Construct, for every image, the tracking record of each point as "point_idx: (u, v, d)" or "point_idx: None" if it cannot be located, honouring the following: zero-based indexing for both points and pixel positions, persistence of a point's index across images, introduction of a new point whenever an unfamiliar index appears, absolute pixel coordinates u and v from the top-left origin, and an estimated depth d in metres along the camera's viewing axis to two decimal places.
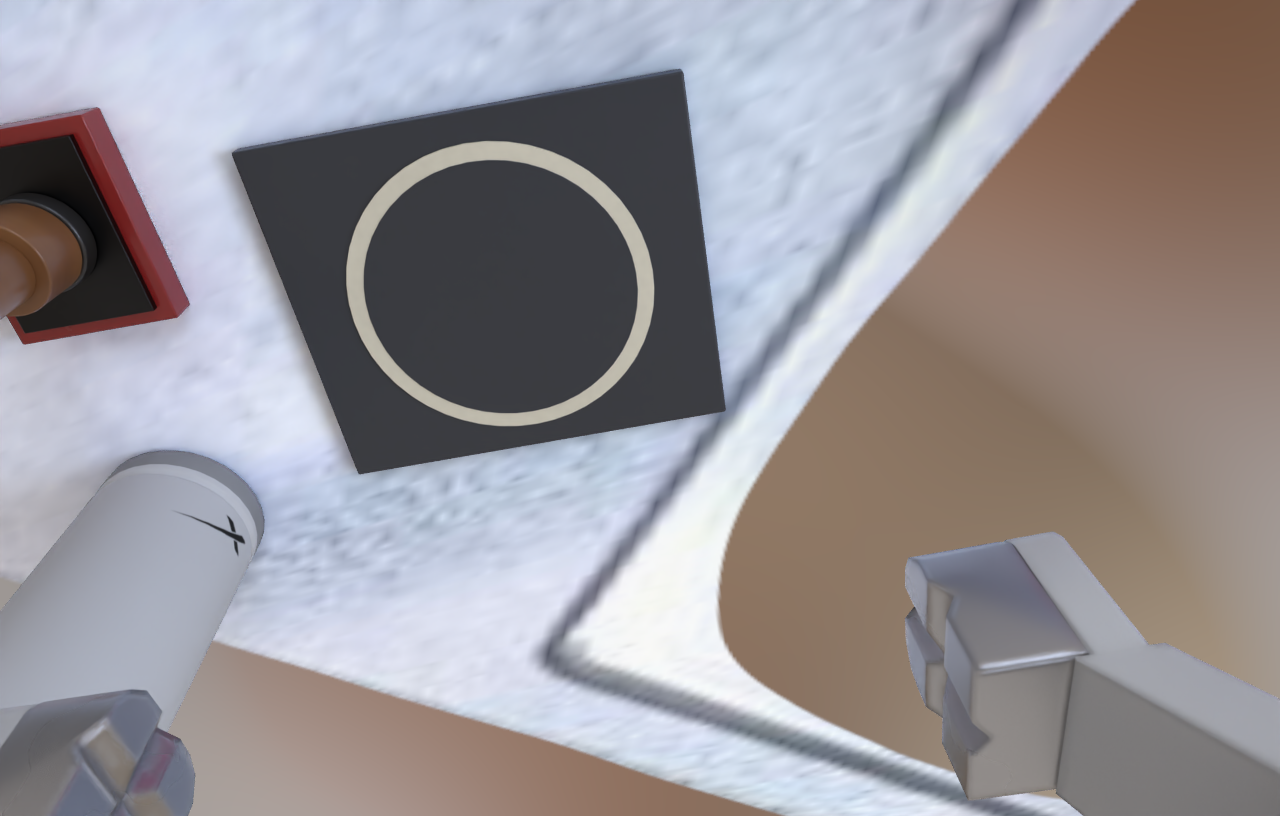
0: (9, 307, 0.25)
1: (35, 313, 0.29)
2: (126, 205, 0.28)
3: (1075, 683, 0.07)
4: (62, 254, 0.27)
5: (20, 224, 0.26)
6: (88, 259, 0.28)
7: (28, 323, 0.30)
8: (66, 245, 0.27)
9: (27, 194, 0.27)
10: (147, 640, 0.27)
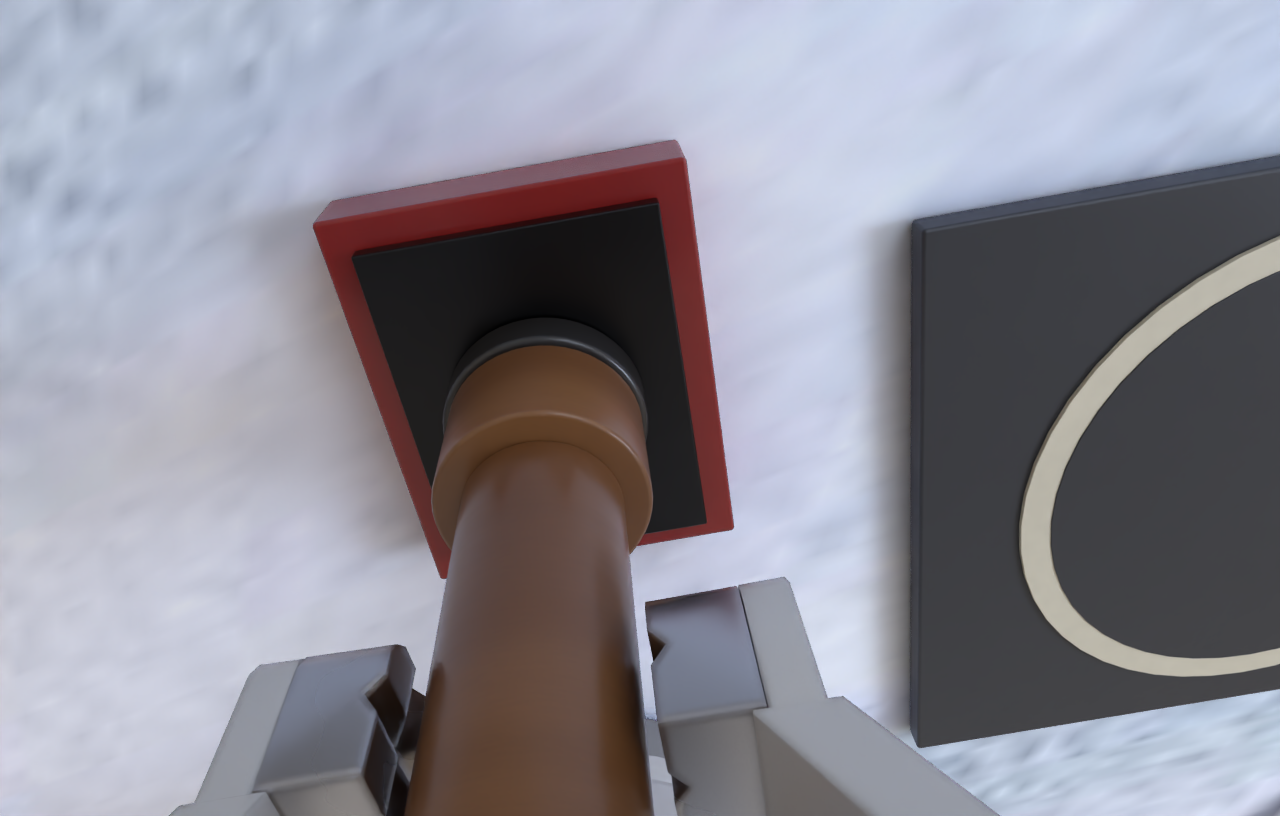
0: None
1: None
2: (708, 335, 0.14)
3: (757, 736, 0.07)
4: None
5: (600, 405, 0.12)
6: None
7: None
8: (643, 432, 0.13)
9: (549, 322, 0.13)
10: None
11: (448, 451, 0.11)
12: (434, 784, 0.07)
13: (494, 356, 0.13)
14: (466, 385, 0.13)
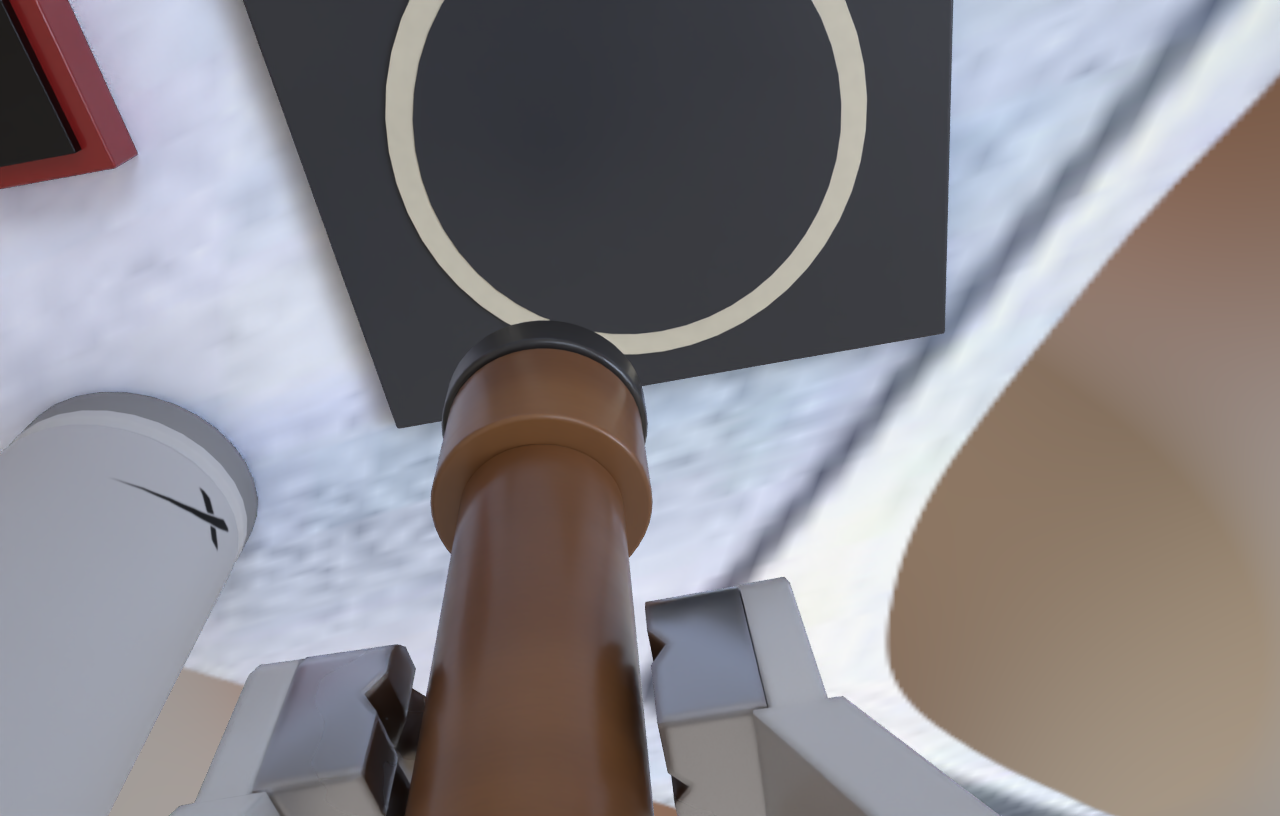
0: None
1: None
2: None
3: (757, 735, 0.07)
4: (646, 458, 0.13)
5: (600, 408, 0.12)
6: None
7: None
8: (642, 435, 0.13)
9: (549, 325, 0.13)
10: (54, 692, 0.16)
11: (447, 454, 0.11)
12: (434, 789, 0.07)
13: (493, 359, 0.13)
14: (465, 388, 0.13)
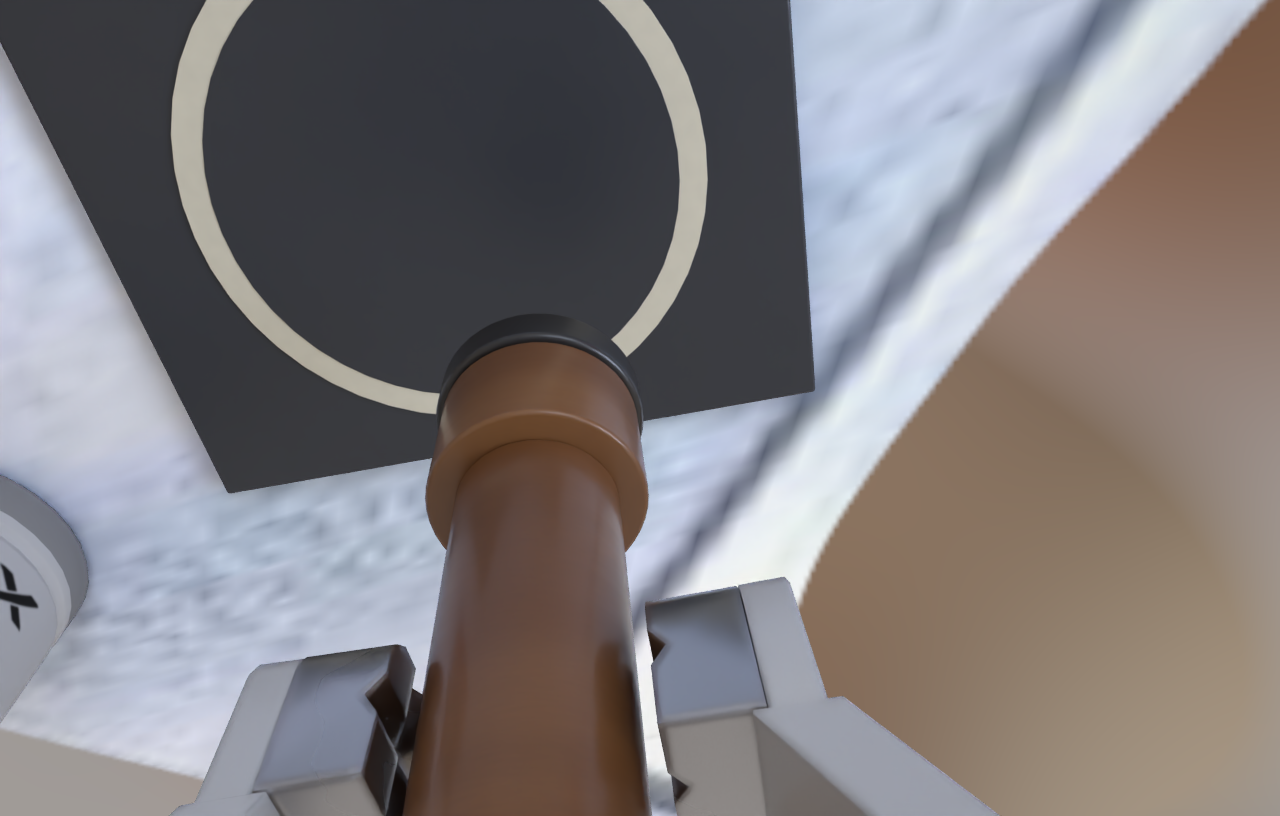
0: None
1: None
2: None
3: (757, 735, 0.07)
4: (642, 452, 0.12)
5: (596, 403, 0.12)
6: None
7: None
8: (638, 429, 0.13)
9: (544, 318, 0.13)
10: None
11: (442, 450, 0.11)
12: (431, 791, 0.07)
13: (488, 353, 0.13)
14: (460, 382, 0.12)
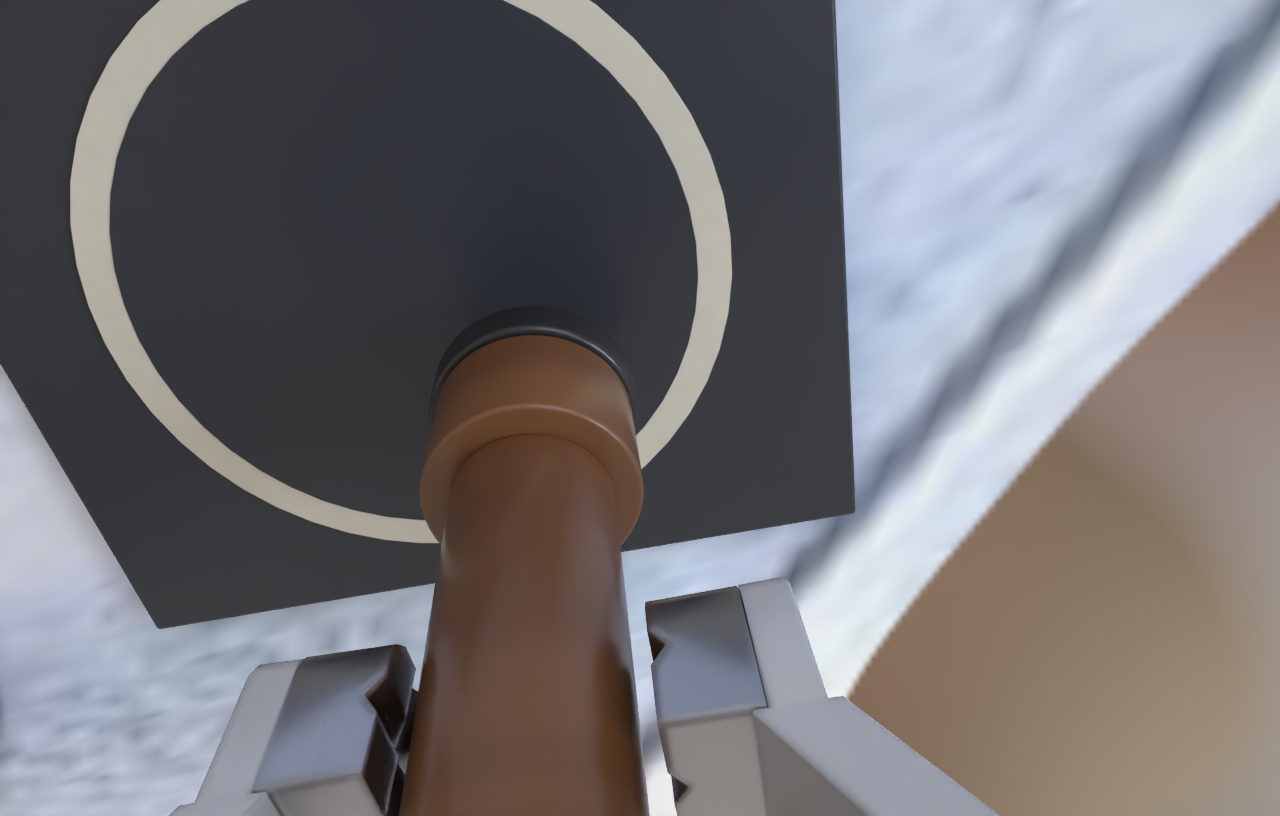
0: None
1: None
2: None
3: (757, 736, 0.07)
4: (637, 446, 0.12)
5: (590, 396, 0.11)
6: None
7: None
8: (633, 422, 0.13)
9: (537, 311, 0.13)
10: None
11: (436, 445, 0.11)
12: (428, 791, 0.07)
13: (481, 346, 0.12)
14: (453, 376, 0.12)
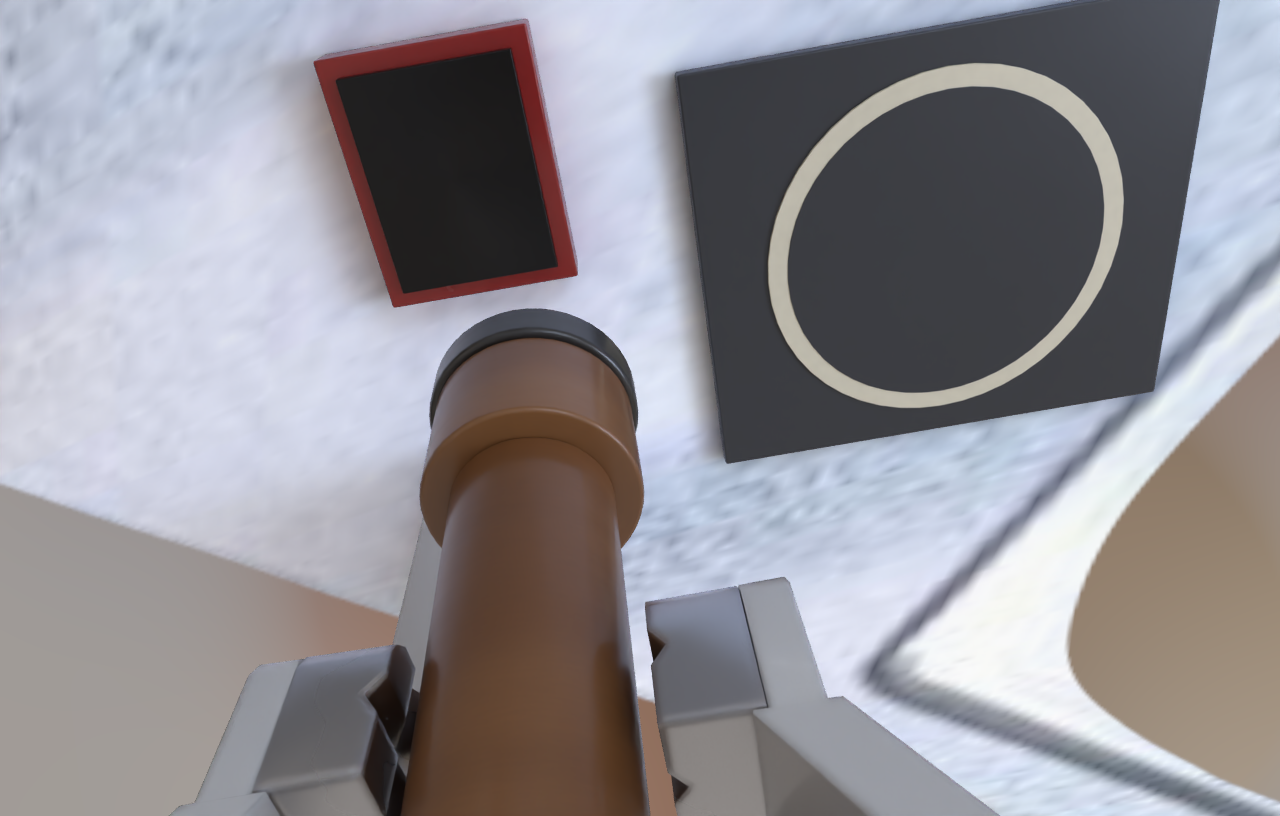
0: None
1: (420, 269, 0.25)
2: (549, 138, 0.24)
3: (757, 736, 0.07)
4: (637, 448, 0.12)
5: (591, 399, 0.11)
6: None
7: (410, 281, 0.25)
8: (633, 425, 0.13)
9: (537, 313, 0.13)
10: None
11: (436, 448, 0.11)
12: (429, 797, 0.07)
13: (481, 349, 0.12)
14: (453, 379, 0.12)
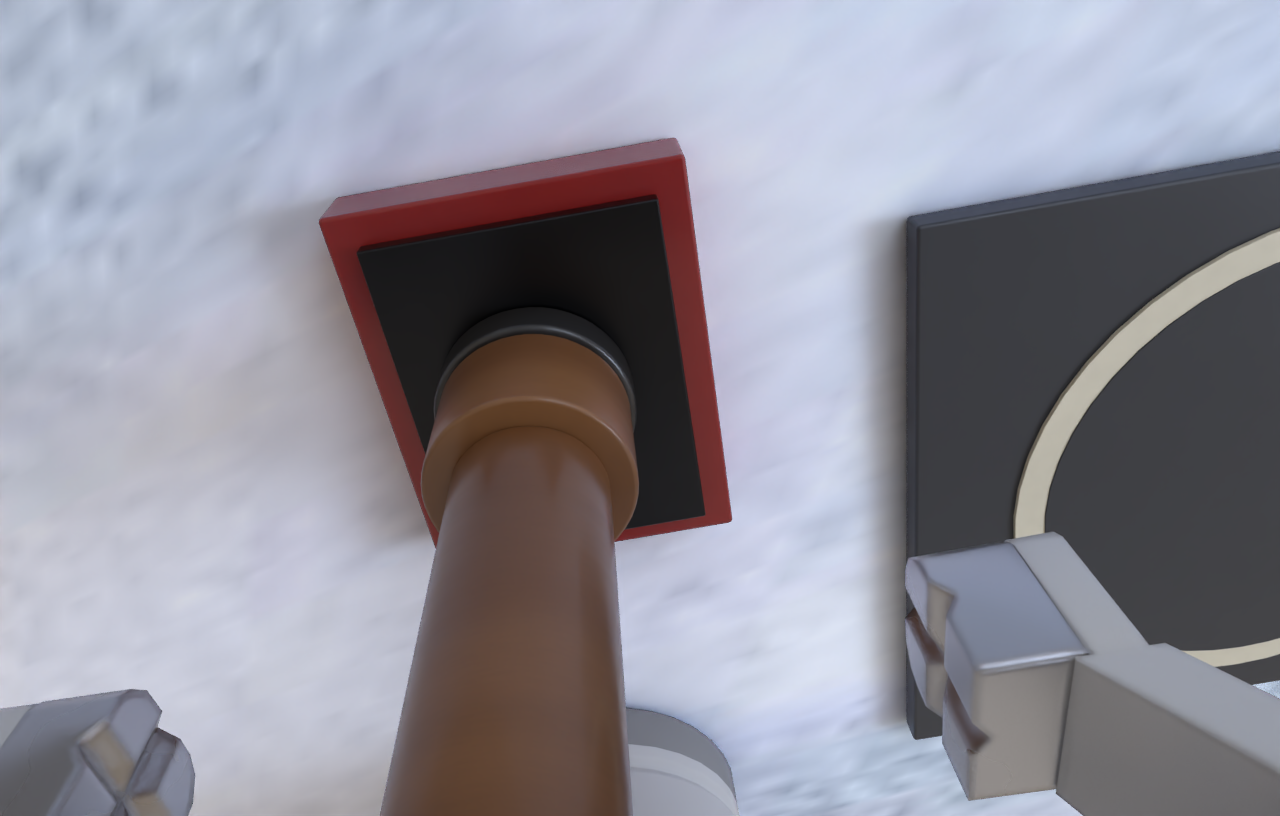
0: None
1: None
2: (707, 330, 0.14)
3: (1075, 683, 0.07)
4: None
5: (587, 391, 0.12)
6: None
7: None
8: (631, 420, 0.13)
9: (539, 311, 0.13)
10: None
11: (437, 436, 0.11)
12: (415, 751, 0.07)
13: (484, 344, 0.13)
14: (456, 373, 0.13)
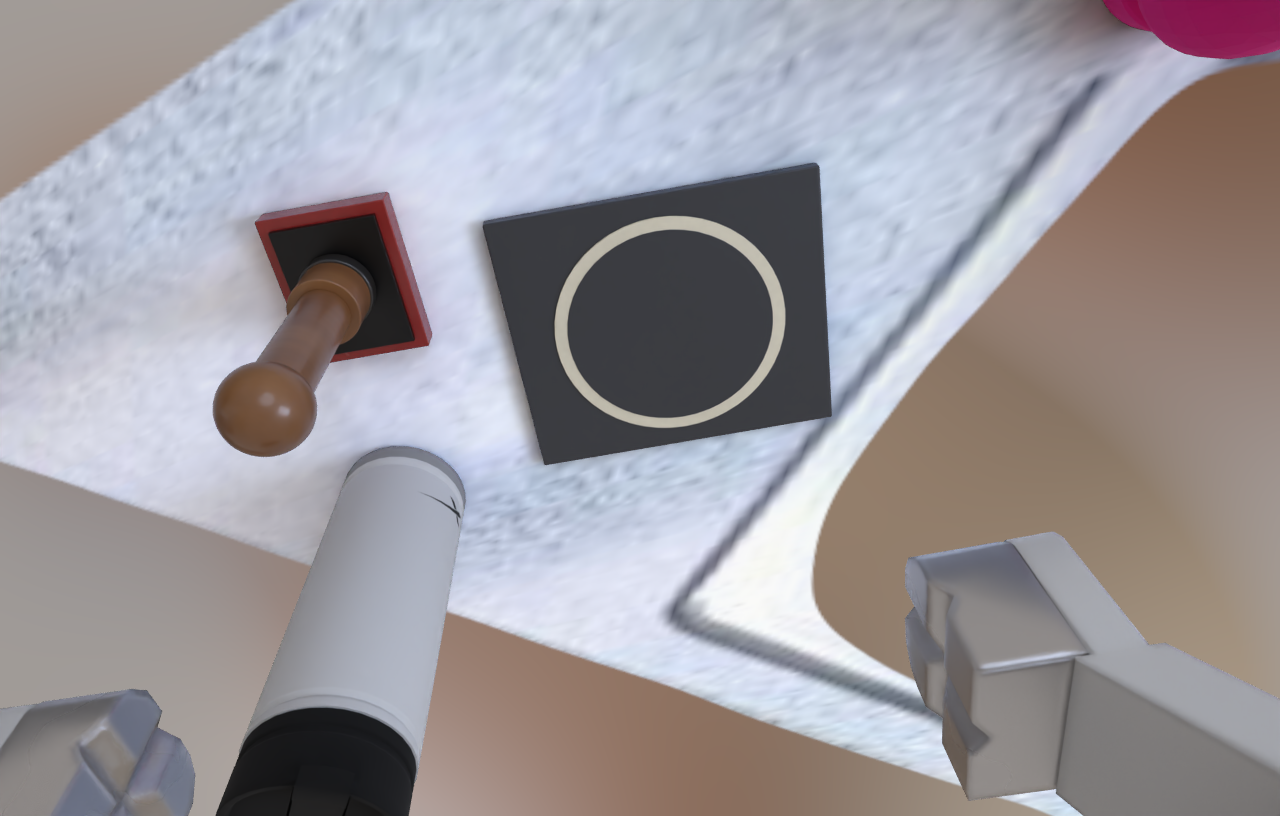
0: (341, 340, 0.35)
1: None
2: (404, 264, 0.38)
3: (1075, 683, 0.07)
4: (364, 300, 0.36)
5: (342, 279, 0.35)
6: (372, 302, 0.38)
7: None
8: (365, 293, 0.37)
9: (334, 255, 0.37)
10: (427, 584, 0.37)
11: (290, 293, 0.35)
12: (265, 348, 0.31)
13: (313, 266, 0.37)
14: (302, 276, 0.36)
